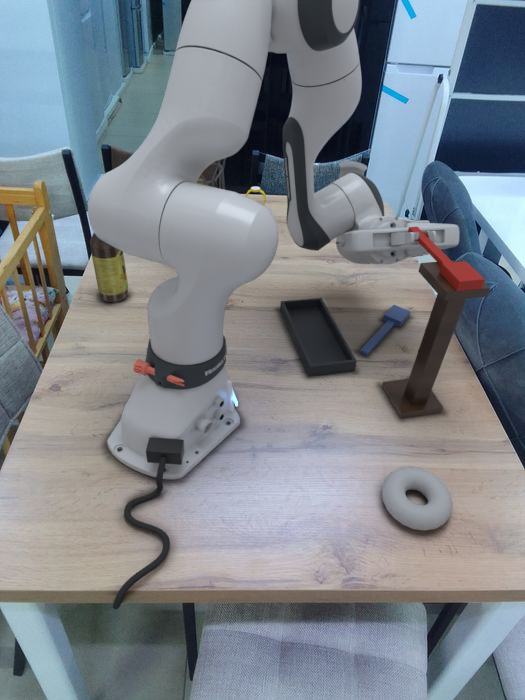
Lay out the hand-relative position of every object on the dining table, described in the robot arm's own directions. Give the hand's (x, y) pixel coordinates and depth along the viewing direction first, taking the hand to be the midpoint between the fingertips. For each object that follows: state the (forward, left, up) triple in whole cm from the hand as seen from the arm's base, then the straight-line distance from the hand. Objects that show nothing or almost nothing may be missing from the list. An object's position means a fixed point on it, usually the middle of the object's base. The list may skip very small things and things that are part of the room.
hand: (424, 237), depth 81 cm
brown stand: (-8, -6, -27) cm, 29 cm away
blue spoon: (+10, +3, -27) cm, 29 cm away
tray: (0, +15, -27) cm, 31 cm away
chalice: (+49, +26, -27) cm, 61 cm away
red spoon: (-5, -4, -1) cm, 6 cm away
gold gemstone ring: (+49, +53, -27) cm, 77 cm away
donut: (-29, -12, -27) cm, 42 cm away
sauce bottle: (-8, +59, -27) cm, 66 cm away
